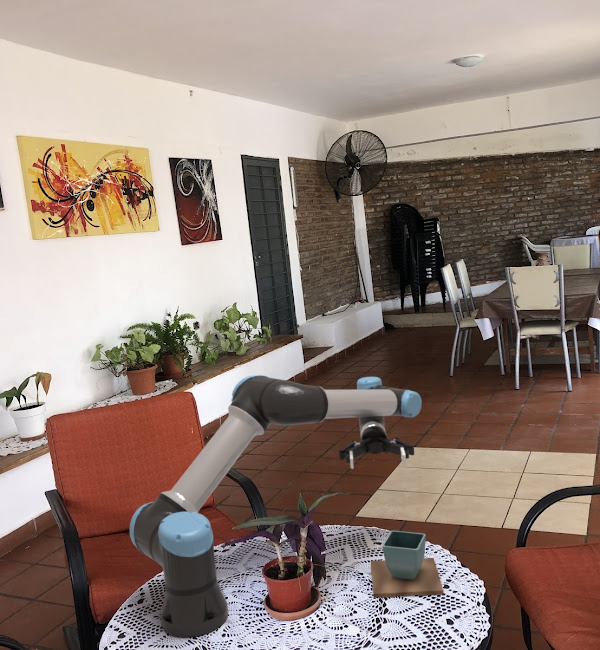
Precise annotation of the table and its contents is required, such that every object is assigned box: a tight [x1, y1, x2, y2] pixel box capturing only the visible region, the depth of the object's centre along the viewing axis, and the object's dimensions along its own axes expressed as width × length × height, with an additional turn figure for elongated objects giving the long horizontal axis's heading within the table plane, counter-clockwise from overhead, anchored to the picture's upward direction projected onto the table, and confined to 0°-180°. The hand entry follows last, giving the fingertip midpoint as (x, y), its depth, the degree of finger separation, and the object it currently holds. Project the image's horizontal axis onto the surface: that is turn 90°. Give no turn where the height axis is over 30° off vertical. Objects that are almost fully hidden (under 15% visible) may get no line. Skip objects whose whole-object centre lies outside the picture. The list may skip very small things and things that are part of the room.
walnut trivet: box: [370, 557, 444, 599], centre depth 163 cm, size 16×16×1 cm
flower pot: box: [381, 530, 426, 580], centre depth 163 cm, size 9×9×9 cm
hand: (378, 462), depth 174 cm, fingers open, 13 cm apart
